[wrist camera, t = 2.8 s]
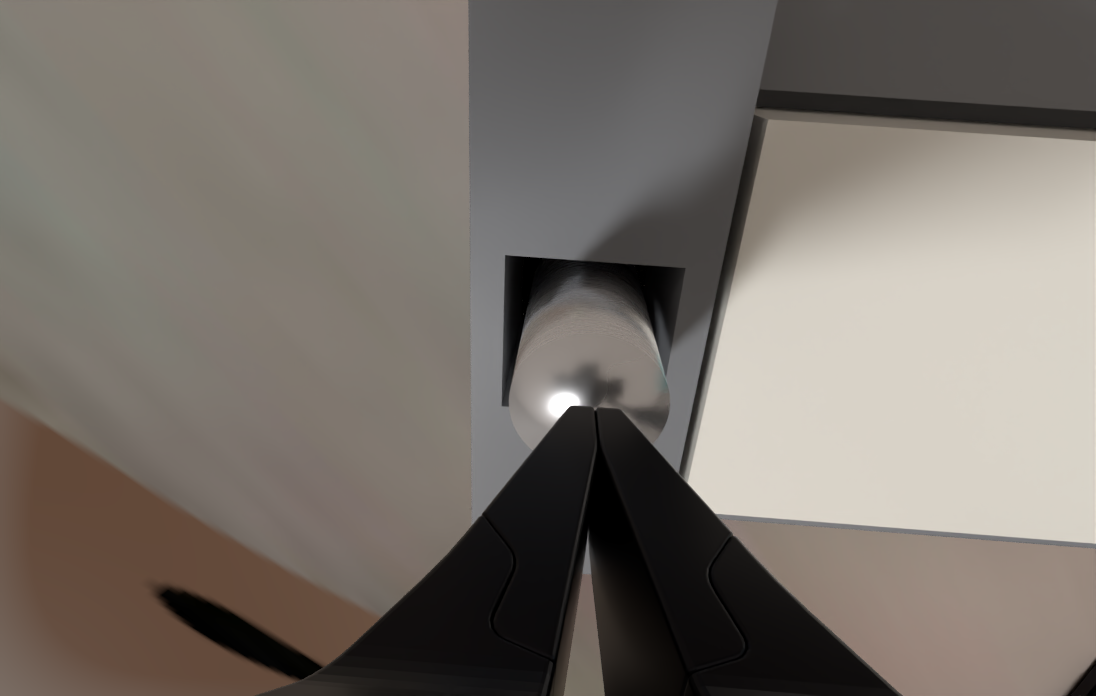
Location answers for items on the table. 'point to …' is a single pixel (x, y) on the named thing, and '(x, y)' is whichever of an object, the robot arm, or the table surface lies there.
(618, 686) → the robot arm
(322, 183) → the table surface
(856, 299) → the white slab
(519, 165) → the filter housing
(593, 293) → the release plunger
